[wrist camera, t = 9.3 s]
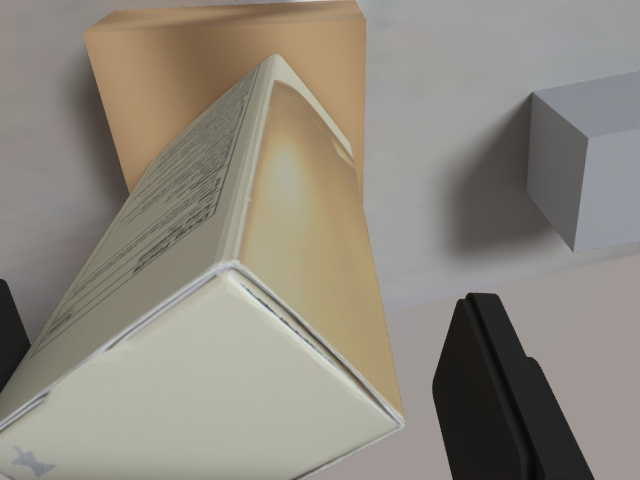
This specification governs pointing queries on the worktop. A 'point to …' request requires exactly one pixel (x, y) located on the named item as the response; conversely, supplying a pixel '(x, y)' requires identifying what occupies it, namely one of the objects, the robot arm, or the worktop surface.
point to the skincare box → (217, 313)
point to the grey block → (588, 160)
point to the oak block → (221, 67)
